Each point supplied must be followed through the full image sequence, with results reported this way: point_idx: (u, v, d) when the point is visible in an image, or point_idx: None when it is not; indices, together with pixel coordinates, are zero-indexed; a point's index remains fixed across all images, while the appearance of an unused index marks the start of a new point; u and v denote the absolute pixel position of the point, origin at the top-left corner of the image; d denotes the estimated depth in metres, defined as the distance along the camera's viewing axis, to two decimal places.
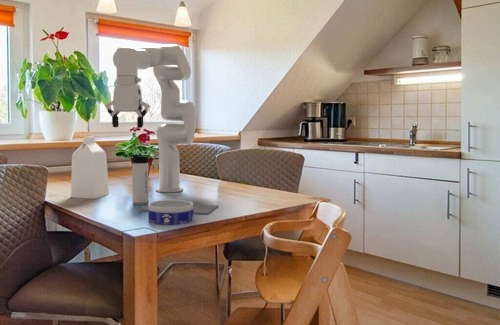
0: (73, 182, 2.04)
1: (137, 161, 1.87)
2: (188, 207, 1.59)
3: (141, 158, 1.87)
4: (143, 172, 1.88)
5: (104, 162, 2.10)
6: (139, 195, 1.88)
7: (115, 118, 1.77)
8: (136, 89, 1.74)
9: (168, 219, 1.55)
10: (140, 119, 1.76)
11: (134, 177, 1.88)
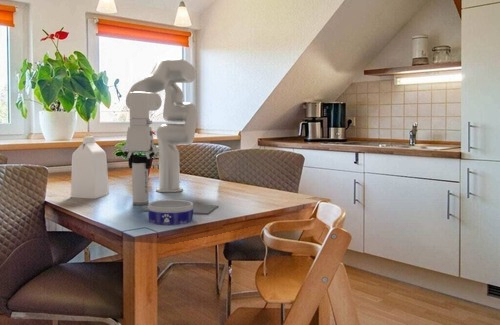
0: (73, 182, 2.04)
1: (137, 161, 1.87)
2: (188, 207, 1.59)
3: (141, 158, 1.87)
4: (143, 172, 1.88)
5: (104, 162, 2.10)
6: (139, 195, 1.88)
7: (131, 160, 1.89)
8: (148, 131, 1.86)
9: (168, 219, 1.55)
10: (148, 161, 1.88)
11: (134, 177, 1.88)
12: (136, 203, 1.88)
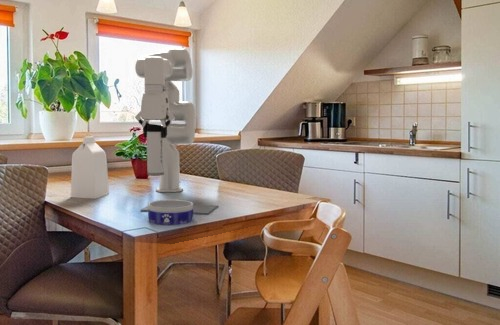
0: (73, 182, 2.04)
1: (152, 129, 1.78)
2: (189, 207, 1.59)
3: (156, 126, 1.78)
4: (159, 141, 1.79)
5: (104, 162, 2.10)
6: (155, 166, 1.79)
7: (146, 128, 1.81)
8: (164, 98, 1.77)
9: (168, 219, 1.55)
10: (164, 129, 1.79)
11: (149, 146, 1.79)
12: (151, 174, 1.80)
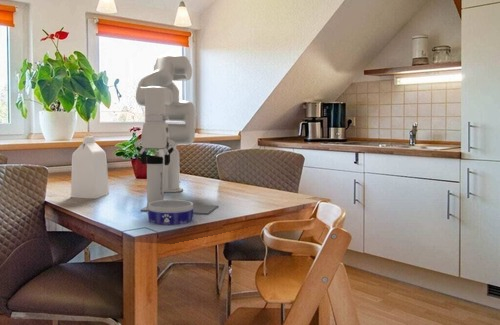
0: (73, 182, 2.04)
1: (152, 162, 1.79)
2: (188, 207, 1.59)
3: (156, 158, 1.79)
4: (159, 173, 1.80)
5: (104, 162, 2.10)
6: (155, 197, 1.81)
7: (144, 155, 1.82)
8: (164, 127, 1.78)
9: (168, 219, 1.55)
10: (167, 157, 1.80)
11: (149, 178, 1.80)
12: None
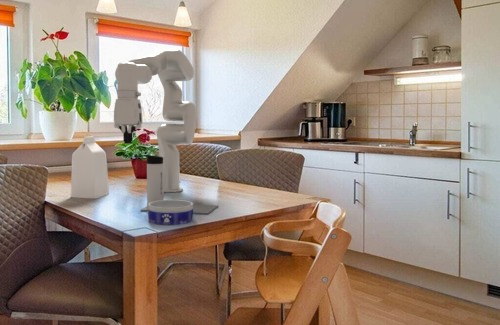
0: (73, 182, 2.04)
1: (152, 162, 1.79)
2: (188, 206, 1.59)
3: (156, 158, 1.79)
4: (159, 173, 1.80)
5: (104, 162, 2.10)
6: (155, 197, 1.81)
7: None
8: (136, 103, 1.79)
9: (168, 219, 1.55)
10: (129, 135, 1.82)
11: (149, 178, 1.80)
12: None
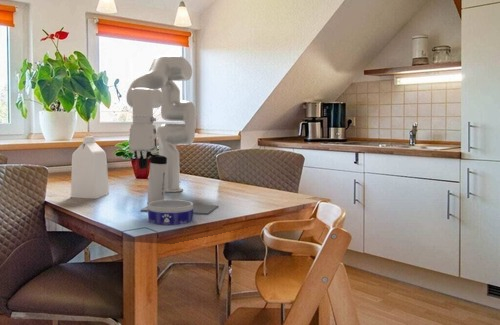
0: (73, 182, 2.04)
1: (156, 161, 1.79)
2: (189, 207, 1.59)
3: (160, 159, 1.79)
4: (161, 173, 1.80)
5: (104, 162, 2.10)
6: (155, 197, 1.80)
7: None
8: (151, 129, 1.79)
9: (168, 219, 1.55)
10: (144, 160, 1.82)
11: (151, 178, 1.80)
12: None
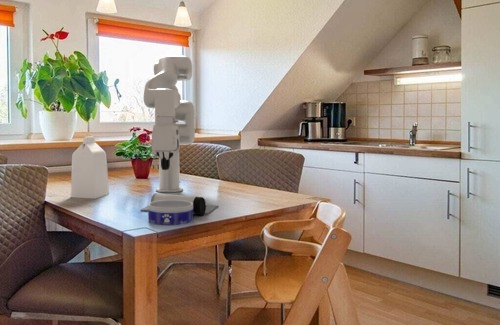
0: (73, 182, 2.04)
1: None
2: (189, 207, 1.59)
3: None
4: None
5: (104, 162, 2.10)
6: None
7: None
8: (174, 130, 1.78)
9: (168, 220, 1.55)
10: (167, 161, 1.80)
11: None
12: None
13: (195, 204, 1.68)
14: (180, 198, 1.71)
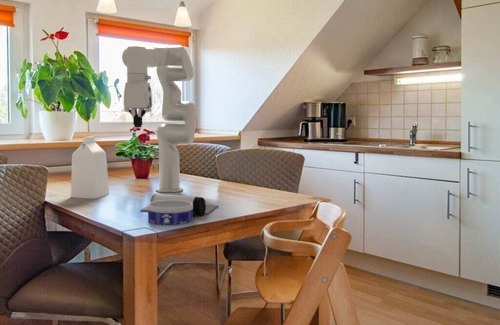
0: (73, 182, 2.04)
1: None
2: (188, 207, 1.59)
3: None
4: None
5: (104, 162, 2.10)
6: None
7: None
8: (146, 86, 1.78)
9: (168, 220, 1.55)
10: (139, 119, 1.81)
11: None
12: None
13: (195, 205, 1.68)
14: (180, 199, 1.70)
